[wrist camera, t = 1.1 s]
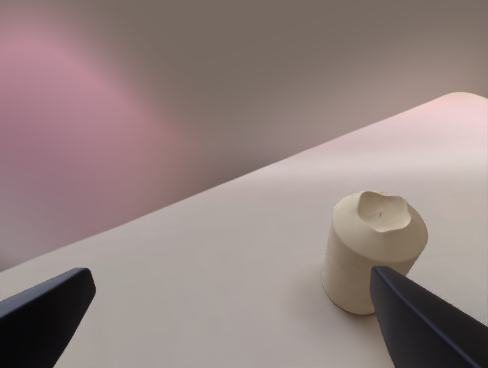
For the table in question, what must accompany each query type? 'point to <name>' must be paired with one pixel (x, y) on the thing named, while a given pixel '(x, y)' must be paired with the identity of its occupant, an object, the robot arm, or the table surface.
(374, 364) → the table surface
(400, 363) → the robot arm
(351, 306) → the candle
